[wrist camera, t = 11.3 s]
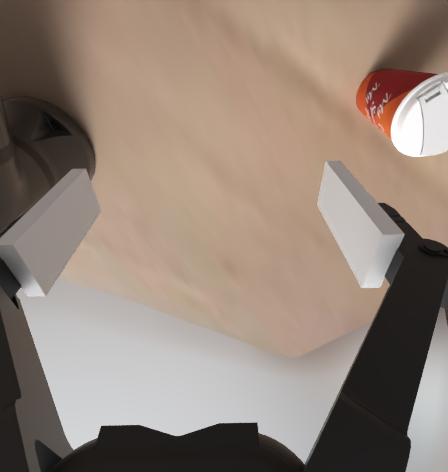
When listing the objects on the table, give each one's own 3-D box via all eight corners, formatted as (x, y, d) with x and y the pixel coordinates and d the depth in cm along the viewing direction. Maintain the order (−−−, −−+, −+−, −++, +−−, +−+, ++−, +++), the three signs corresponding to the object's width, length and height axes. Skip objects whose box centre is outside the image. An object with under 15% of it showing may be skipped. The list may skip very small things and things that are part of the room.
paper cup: (337, 88, 36) (385, 114, 25) (397, 43, 33) (480, 51, 22) (361, 135, 40) (412, 176, 29) (417, 99, 37) (497, 129, 26)
